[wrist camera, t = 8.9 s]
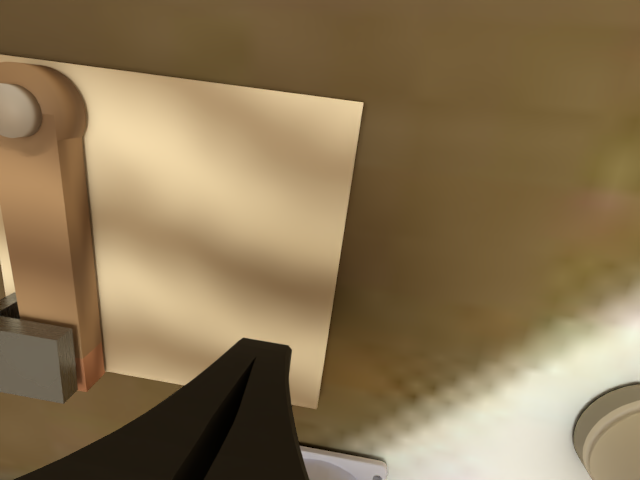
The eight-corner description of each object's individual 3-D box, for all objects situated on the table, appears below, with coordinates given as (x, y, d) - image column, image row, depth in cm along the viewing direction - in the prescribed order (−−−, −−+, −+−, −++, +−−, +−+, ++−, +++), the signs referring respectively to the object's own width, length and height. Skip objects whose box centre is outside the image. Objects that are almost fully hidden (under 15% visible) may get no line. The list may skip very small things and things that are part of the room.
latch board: (318, 396, 22) (316, 408, 21) (29, 344, 23) (15, 354, 22) (363, 102, 17) (363, 102, 16) (-12, 53, 18) (-33, 50, 17)
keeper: (103, 363, 22) (63, 403, 19) (22, 348, 22) (-30, 386, 19) (100, 306, 21) (56, 340, 18) (14, 292, 21) (-43, 323, 18)
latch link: (0, 60, 17) (-48, 55, 15) (81, 69, 17) (43, 65, 15) (47, 363, 22) (16, 389, 20) (110, 373, 22) (84, 401, 20)
